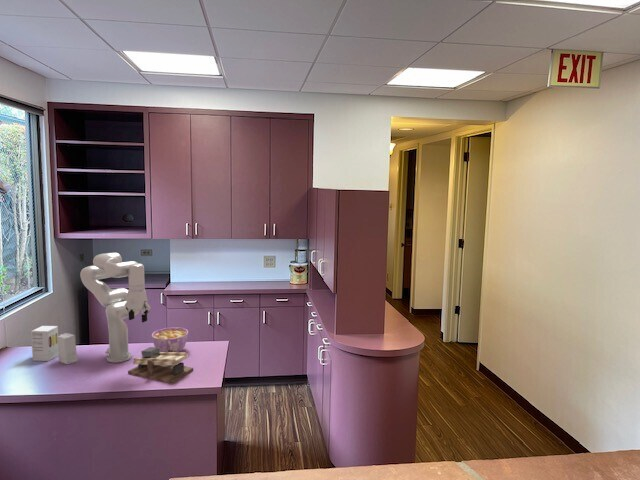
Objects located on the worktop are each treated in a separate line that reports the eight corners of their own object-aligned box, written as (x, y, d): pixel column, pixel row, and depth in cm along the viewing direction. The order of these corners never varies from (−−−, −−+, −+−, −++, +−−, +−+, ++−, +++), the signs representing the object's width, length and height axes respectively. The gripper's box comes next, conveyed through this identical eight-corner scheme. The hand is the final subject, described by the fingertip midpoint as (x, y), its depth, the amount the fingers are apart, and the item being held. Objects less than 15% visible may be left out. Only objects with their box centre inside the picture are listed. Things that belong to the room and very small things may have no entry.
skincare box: (77, 361, 233) (76, 335, 231) (66, 365, 228) (64, 338, 226) (69, 357, 237) (67, 331, 235) (57, 361, 232) (56, 335, 230)
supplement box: (49, 361, 232) (47, 331, 230) (32, 361, 232) (30, 331, 230) (60, 354, 241) (58, 325, 239) (43, 354, 242) (42, 325, 239)
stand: (128, 373, 219) (127, 356, 218) (150, 361, 234) (150, 345, 233) (172, 383, 209) (172, 365, 208) (193, 370, 224) (192, 353, 223)
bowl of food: (177, 360, 236) (177, 340, 234) (144, 357, 240) (144, 337, 238) (195, 347, 255) (194, 328, 254) (164, 344, 259) (164, 326, 258)
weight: (142, 359, 221) (141, 351, 221) (151, 355, 227) (149, 347, 226) (151, 359, 219) (150, 351, 219) (159, 355, 224) (158, 347, 224)
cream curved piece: (131, 365, 219) (130, 360, 219) (150, 355, 232) (149, 350, 232) (172, 366, 210) (171, 361, 209) (189, 356, 222) (189, 351, 222)
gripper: (118, 287, 220) (119, 320, 223) (145, 291, 214) (146, 325, 217) (129, 284, 227) (130, 316, 230) (155, 287, 221) (156, 320, 224)
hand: (138, 320), depth 223 cm, fingers open, 7 cm apart
